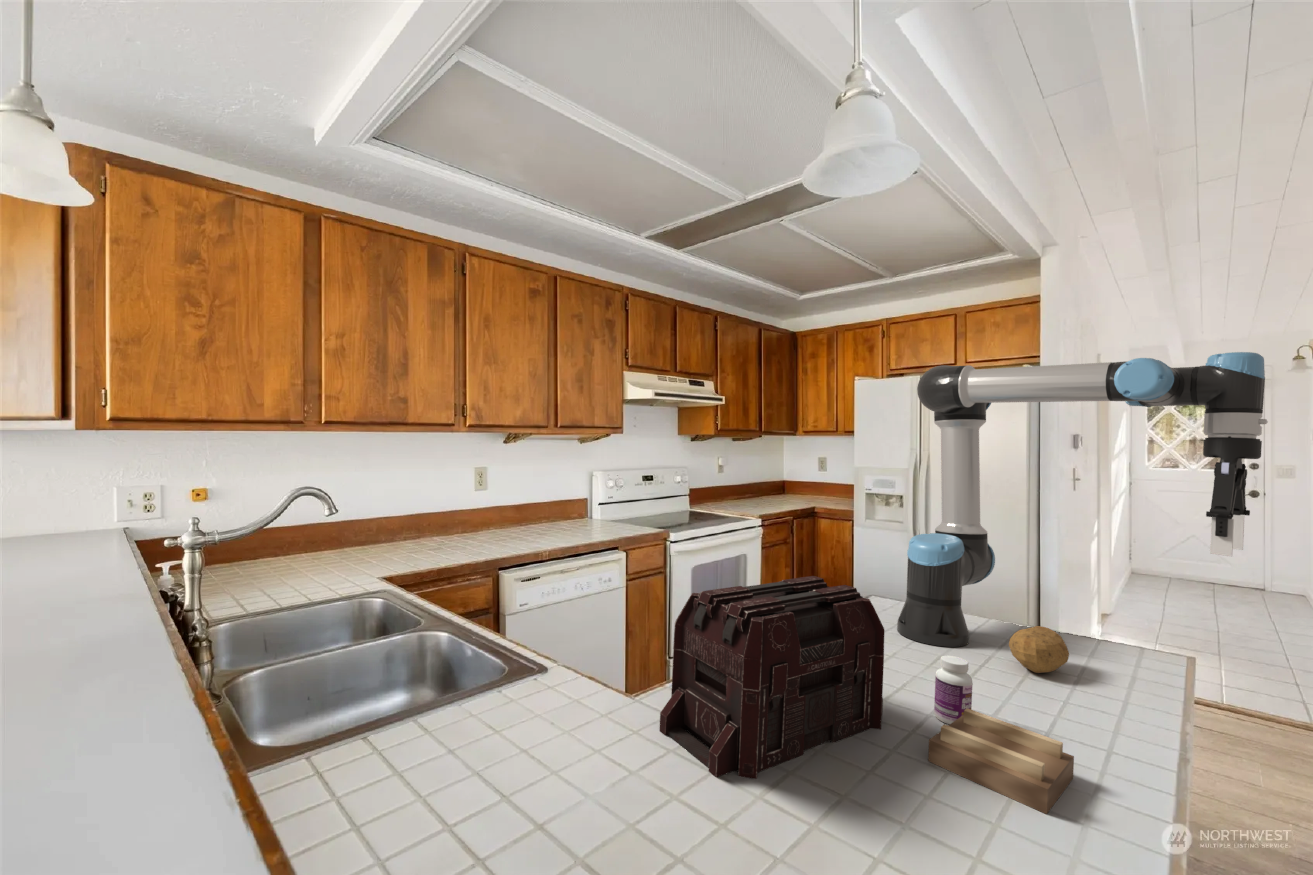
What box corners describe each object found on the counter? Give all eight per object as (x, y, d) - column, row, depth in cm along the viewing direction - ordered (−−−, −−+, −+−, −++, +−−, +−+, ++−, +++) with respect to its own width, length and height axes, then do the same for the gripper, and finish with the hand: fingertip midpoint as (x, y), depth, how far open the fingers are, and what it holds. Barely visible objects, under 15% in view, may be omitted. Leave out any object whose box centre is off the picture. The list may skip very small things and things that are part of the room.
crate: (730, 790, 70) (737, 622, 70) (649, 723, 86) (655, 586, 86) (898, 723, 89) (903, 591, 89) (806, 678, 105) (811, 567, 105)
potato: (997, 670, 113) (999, 630, 113) (1020, 655, 122) (1021, 618, 122) (1055, 687, 105) (1057, 645, 106) (1075, 670, 115) (1076, 631, 115)
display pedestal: (928, 761, 78) (929, 726, 78) (962, 734, 86) (963, 703, 86) (1046, 814, 68) (1048, 774, 68) (1073, 778, 76) (1074, 742, 76)
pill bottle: (970, 731, 87) (972, 669, 87) (932, 721, 90) (934, 660, 90) (971, 717, 92) (974, 658, 92) (935, 708, 95) (938, 651, 95)
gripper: (1253, 434, 93) (1247, 562, 93) (1269, 440, 109) (1264, 549, 108) (1191, 433, 99) (1185, 553, 99) (1215, 439, 114) (1210, 542, 114)
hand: (1227, 551), depth 104 cm, fingers open, 13 cm apart
